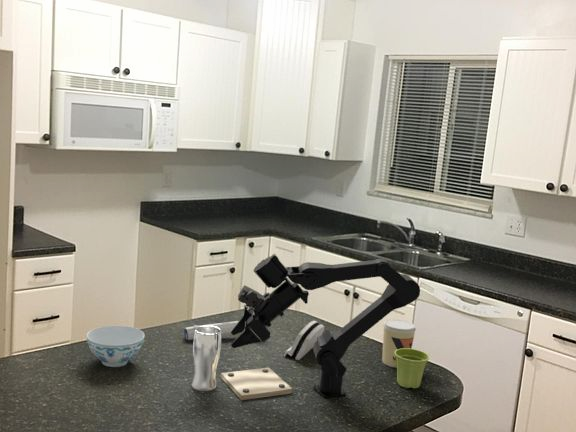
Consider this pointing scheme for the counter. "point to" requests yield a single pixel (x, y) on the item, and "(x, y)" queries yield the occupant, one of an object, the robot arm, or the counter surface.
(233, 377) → the bolt plate
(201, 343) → the metal tumbler
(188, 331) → the grey long bar
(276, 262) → the robot arm
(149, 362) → the counter surface
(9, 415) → the counter surface
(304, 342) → the white layered curved block
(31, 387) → the counter surface
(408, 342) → the cream lidded tub
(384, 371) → the counter surface
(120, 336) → the chinaware
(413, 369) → the plant pot
